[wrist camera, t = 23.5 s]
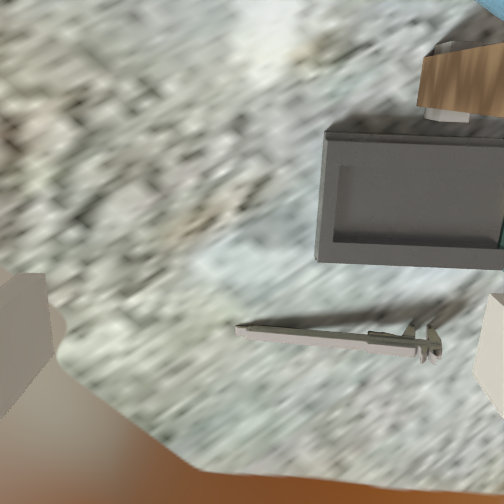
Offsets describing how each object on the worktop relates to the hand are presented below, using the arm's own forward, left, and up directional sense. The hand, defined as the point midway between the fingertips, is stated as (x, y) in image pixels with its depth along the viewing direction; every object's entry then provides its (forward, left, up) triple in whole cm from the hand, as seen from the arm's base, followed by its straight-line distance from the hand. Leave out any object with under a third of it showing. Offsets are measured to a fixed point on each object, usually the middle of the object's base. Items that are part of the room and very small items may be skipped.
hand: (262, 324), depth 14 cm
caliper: (+17, +8, -32) cm, 37 cm away
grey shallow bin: (+3, +14, -32) cm, 35 cm away
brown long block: (-8, +15, -32) cm, 36 cm away
